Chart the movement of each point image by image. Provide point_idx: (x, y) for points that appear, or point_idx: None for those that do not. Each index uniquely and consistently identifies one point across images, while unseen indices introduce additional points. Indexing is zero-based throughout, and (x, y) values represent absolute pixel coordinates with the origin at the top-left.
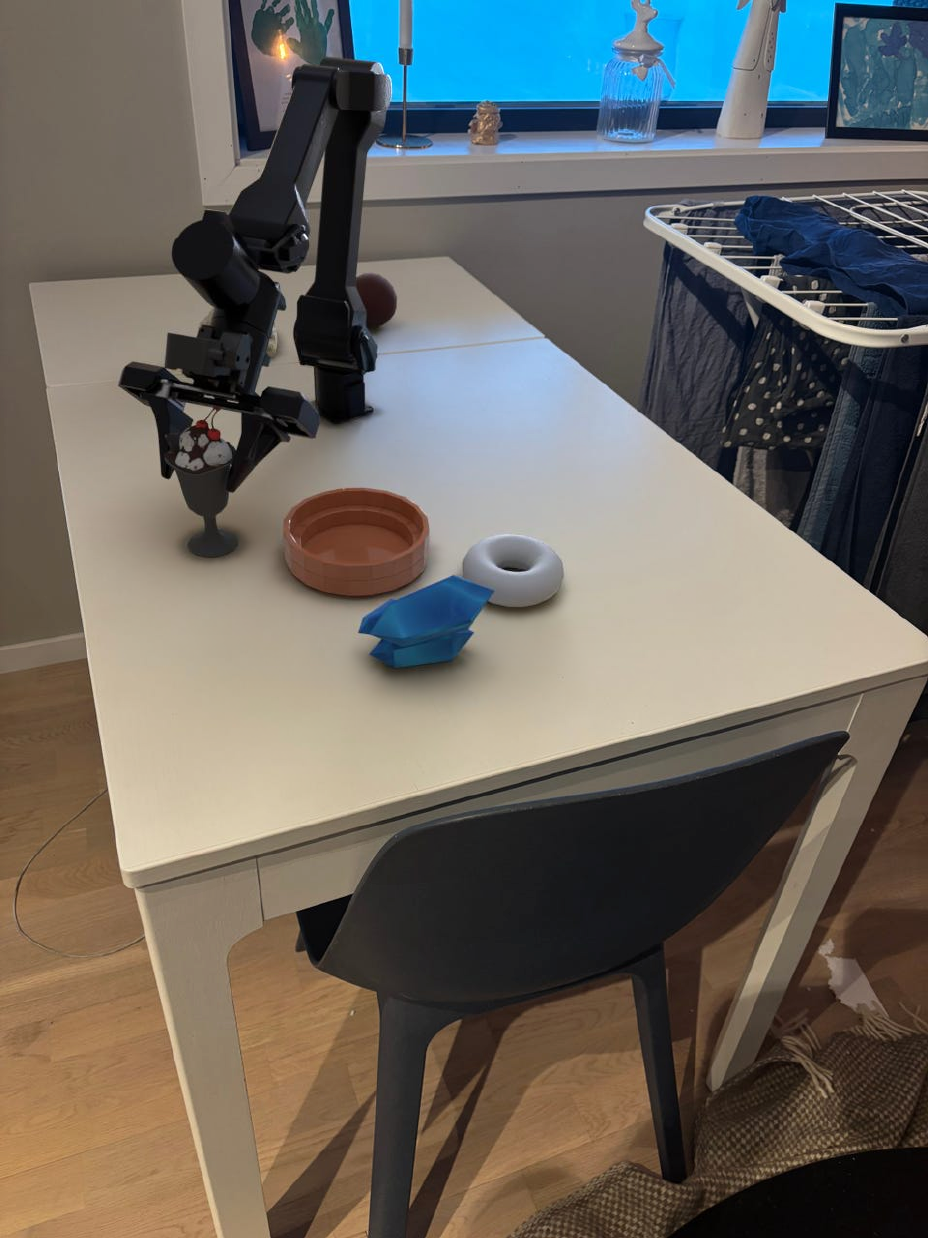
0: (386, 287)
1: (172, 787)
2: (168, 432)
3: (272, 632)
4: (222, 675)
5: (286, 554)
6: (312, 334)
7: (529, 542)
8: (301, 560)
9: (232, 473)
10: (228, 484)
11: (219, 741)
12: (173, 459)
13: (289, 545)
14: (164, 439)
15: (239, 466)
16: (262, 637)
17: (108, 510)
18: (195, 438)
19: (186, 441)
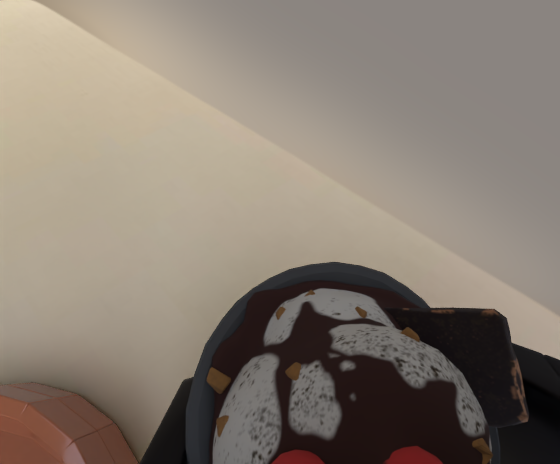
0: None
1: (29, 40)
2: (555, 393)
3: (44, 251)
4: (67, 155)
5: (90, 418)
6: None
7: None
8: (3, 389)
9: (175, 421)
10: (187, 386)
11: (13, 89)
12: (386, 302)
13: (37, 405)
14: (527, 365)
15: (141, 461)
16: (54, 234)
17: (517, 343)
18: (344, 366)
19: (374, 332)
